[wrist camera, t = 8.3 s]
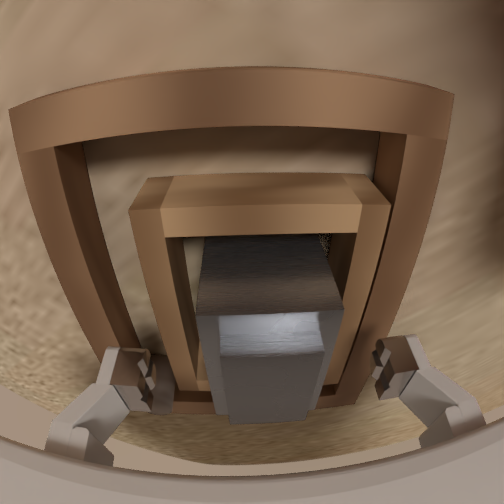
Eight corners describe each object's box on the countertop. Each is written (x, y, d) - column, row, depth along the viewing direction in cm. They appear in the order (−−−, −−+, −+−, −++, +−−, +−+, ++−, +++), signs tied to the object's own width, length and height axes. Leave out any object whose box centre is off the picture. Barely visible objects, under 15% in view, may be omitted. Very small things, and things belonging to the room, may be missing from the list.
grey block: (310, 217, 13) (352, 331, 8) (298, 322, 16) (317, 426, 11) (208, 220, 12) (192, 339, 8) (218, 325, 16) (215, 431, 11)
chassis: (423, 84, 9) (472, 100, 7) (348, 378, 19) (357, 417, 17) (39, 97, 9) (-10, 117, 6) (134, 384, 19) (127, 423, 17)
